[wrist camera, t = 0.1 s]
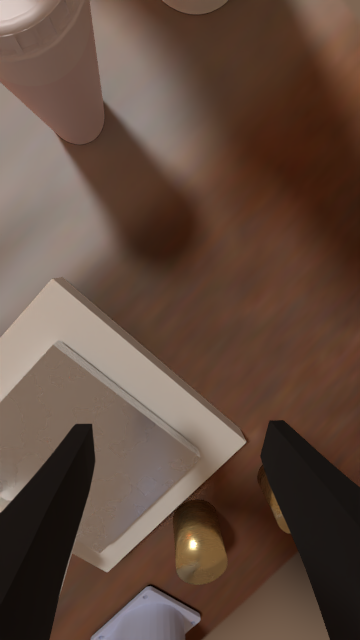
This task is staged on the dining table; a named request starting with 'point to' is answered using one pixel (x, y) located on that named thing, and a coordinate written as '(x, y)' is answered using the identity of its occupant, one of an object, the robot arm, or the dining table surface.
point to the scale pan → (109, 442)
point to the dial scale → (131, 376)
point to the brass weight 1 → (198, 543)
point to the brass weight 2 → (271, 499)
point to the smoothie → (53, 64)
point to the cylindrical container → (195, 5)
